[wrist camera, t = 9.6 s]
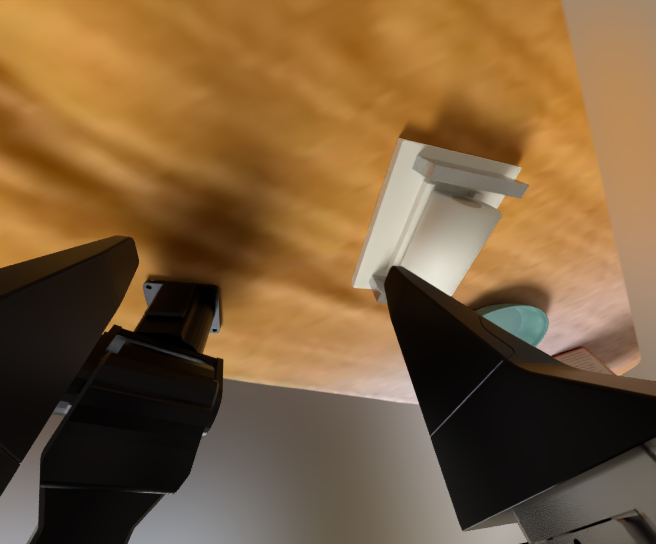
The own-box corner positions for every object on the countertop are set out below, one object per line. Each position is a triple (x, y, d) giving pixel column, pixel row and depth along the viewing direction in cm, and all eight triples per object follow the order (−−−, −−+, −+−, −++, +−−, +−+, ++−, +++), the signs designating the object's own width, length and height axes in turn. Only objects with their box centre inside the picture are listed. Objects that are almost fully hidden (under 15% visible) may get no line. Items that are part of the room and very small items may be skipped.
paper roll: (432, 270, 27) (461, 304, 22) (387, 267, 25) (410, 302, 21) (473, 194, 22) (519, 219, 18) (421, 185, 21) (458, 209, 17)
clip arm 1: (436, 288, 28) (450, 307, 26) (368, 282, 26) (377, 302, 24) (440, 281, 28) (455, 300, 25) (371, 274, 26) (380, 294, 23)
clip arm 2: (494, 186, 22) (520, 198, 19) (411, 168, 20) (429, 179, 18) (501, 174, 21) (529, 185, 19) (416, 155, 19) (435, 164, 17)
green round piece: (531, 340, 39) (545, 354, 37) (439, 374, 41) (448, 389, 39) (536, 274, 31) (554, 288, 29) (420, 321, 33) (429, 337, 31)
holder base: (440, 289, 30) (448, 299, 28) (351, 281, 27) (354, 292, 26) (513, 164, 22) (529, 170, 20) (398, 137, 19) (407, 141, 18)
